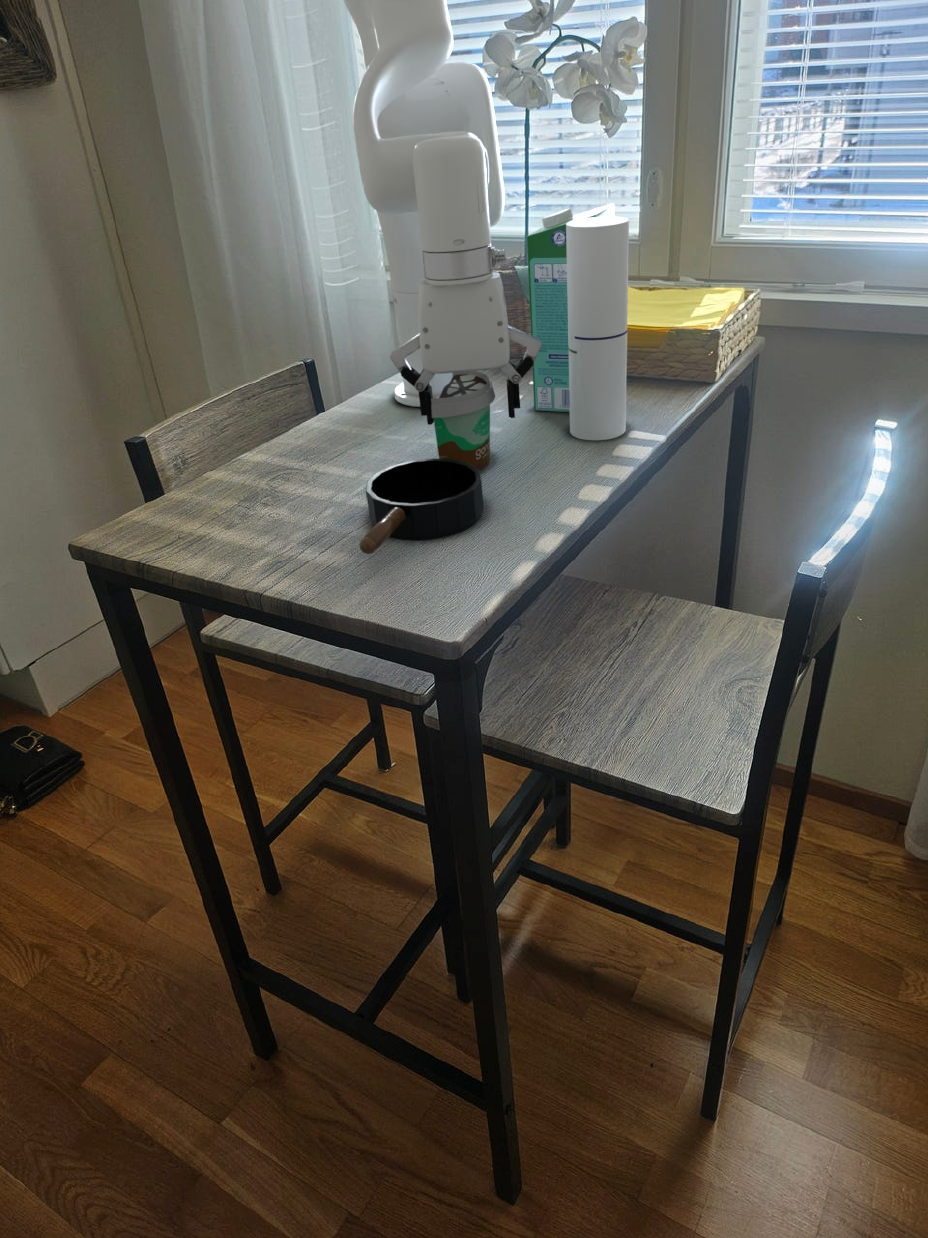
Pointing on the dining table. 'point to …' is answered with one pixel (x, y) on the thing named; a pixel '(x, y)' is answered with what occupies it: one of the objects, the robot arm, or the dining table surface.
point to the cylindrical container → (597, 325)
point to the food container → (464, 419)
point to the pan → (422, 501)
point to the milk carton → (552, 307)
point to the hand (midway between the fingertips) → (471, 417)
